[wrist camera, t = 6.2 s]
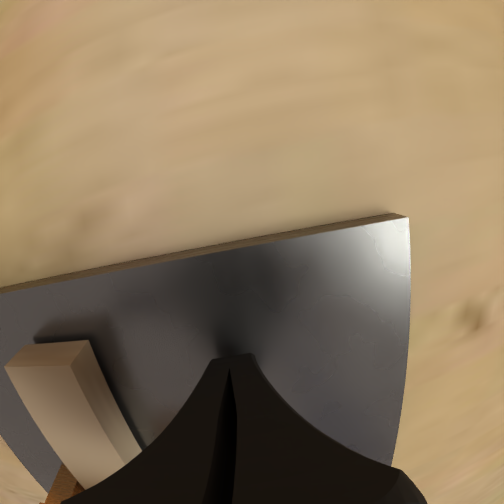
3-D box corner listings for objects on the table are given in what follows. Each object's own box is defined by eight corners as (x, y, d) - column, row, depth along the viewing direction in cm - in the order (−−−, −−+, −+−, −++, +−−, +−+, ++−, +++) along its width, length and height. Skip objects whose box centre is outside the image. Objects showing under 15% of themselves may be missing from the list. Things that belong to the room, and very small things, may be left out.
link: (207, 539, 13) (207, 559, 12) (152, 537, 13) (149, 556, 11) (95, 339, 9) (78, 365, 8) (19, 345, 9) (-2, 366, 8)
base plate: (374, 503, 15) (398, 563, 10) (96, 527, 15) (83, 581, 9) (394, 212, 10) (508, 251, 5) (-54, 299, 10) (-125, 347, 4)
